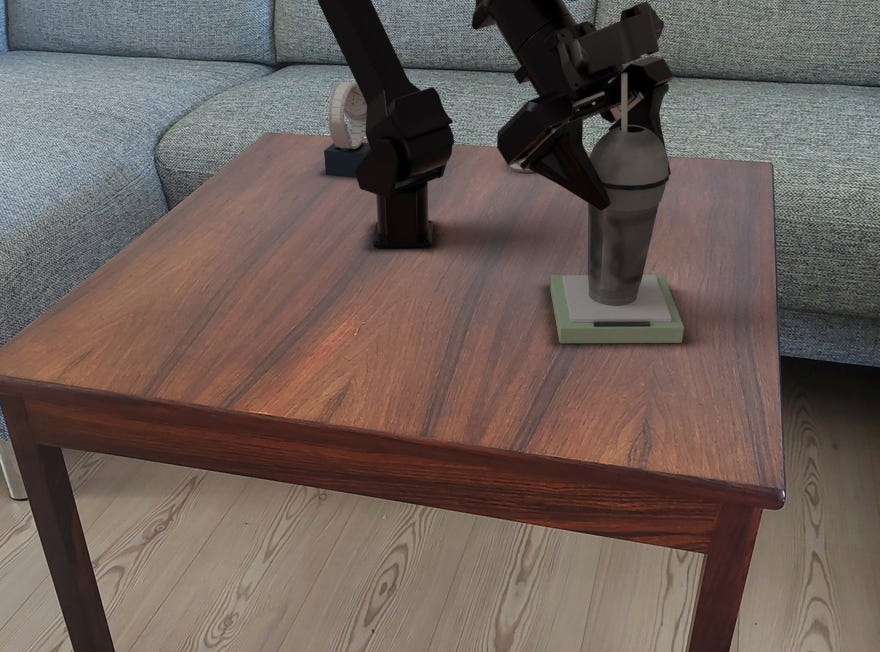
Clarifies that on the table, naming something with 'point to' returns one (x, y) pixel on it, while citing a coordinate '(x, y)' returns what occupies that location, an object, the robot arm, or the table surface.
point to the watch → (346, 130)
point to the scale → (615, 313)
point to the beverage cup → (624, 208)
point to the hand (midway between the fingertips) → (637, 192)
